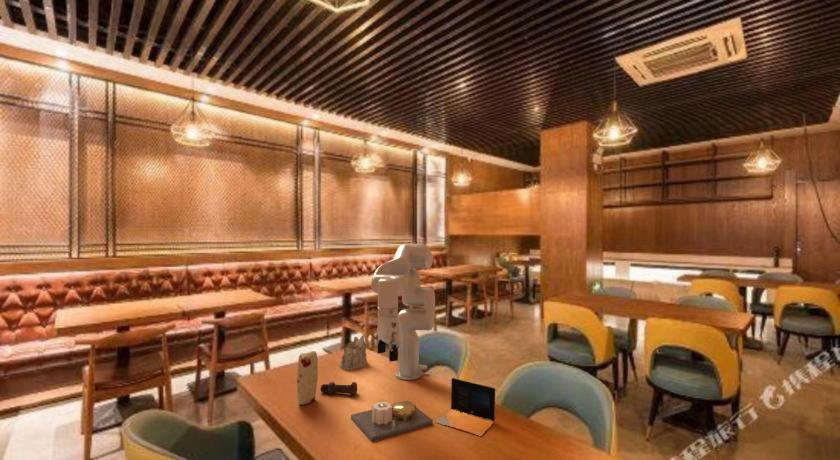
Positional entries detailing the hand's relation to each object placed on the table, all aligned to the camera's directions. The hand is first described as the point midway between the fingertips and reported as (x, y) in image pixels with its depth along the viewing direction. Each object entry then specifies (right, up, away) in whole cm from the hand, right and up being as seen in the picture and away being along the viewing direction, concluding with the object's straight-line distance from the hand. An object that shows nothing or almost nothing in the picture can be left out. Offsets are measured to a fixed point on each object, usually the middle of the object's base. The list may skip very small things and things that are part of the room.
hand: (387, 356), depth 148 cm
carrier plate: (+2, -22, -4) cm, 23 cm away
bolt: (-22, -22, +19) cm, 37 cm away
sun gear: (+6, -21, -2) cm, 22 cm away
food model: (-33, -22, +10) cm, 41 cm away
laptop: (+29, -23, -4) cm, 37 cm away
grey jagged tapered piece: (-23, -22, +56) cm, 64 cm away
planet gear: (-1, -21, -6) cm, 22 cm away
